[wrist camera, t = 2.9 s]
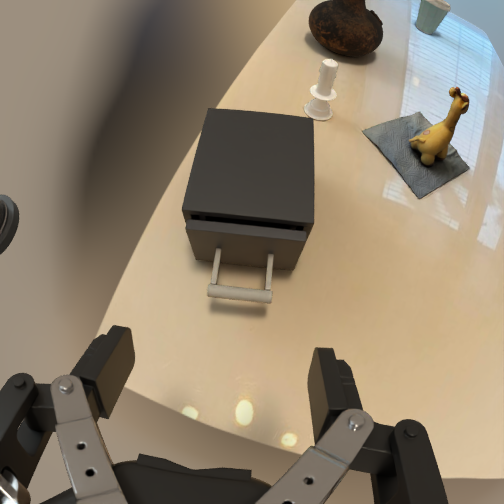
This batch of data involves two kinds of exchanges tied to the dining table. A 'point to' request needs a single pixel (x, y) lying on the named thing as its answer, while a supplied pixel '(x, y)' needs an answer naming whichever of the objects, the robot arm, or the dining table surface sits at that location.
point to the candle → (323, 92)
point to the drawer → (244, 250)
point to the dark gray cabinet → (253, 169)
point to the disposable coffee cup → (431, 15)
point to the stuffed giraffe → (423, 146)
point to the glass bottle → (346, 27)
